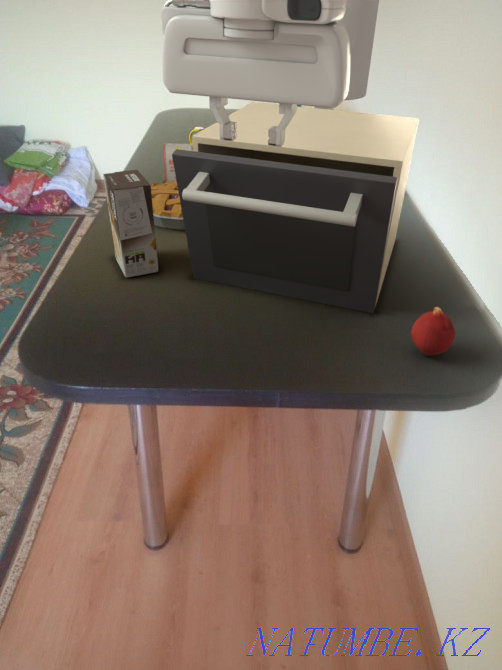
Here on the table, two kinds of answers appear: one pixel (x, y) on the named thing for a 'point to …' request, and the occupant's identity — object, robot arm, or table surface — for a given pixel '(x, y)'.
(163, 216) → the pie
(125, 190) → the coffee box
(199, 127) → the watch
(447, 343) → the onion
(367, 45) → the lamp
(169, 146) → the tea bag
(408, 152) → the oven
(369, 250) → the oven door
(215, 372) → the table surface
